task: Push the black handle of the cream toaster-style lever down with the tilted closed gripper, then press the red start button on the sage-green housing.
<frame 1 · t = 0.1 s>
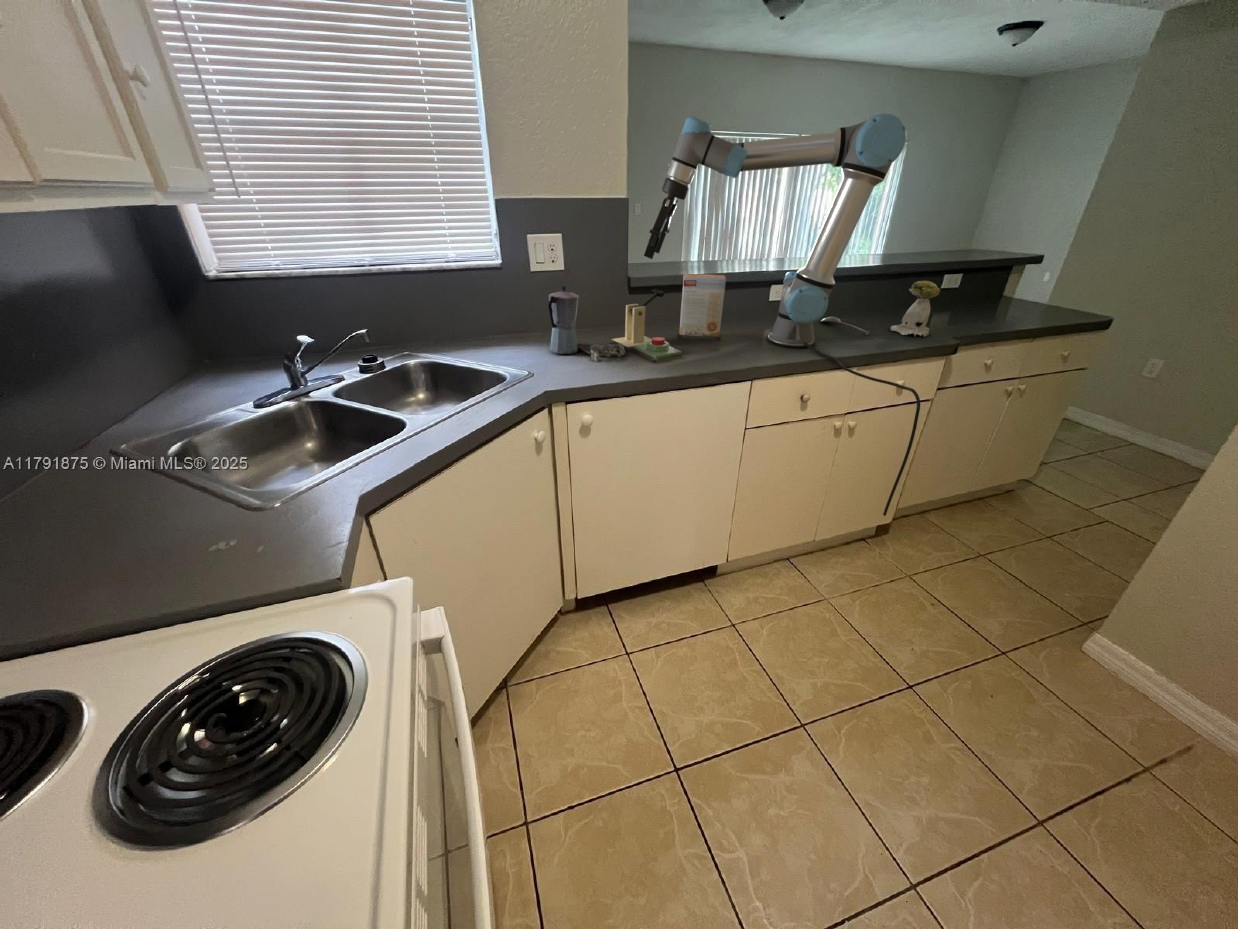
hand: (651, 254, 153), 28 cm above the worktop, tool tilted 20°, fingers open, 13 cm apart
grey and green figure: (908, 332, 184), on the worktop
moka pot: (564, 352, 156), on the worktop
start button: (658, 341, 152), point 4 cm above the worktop, slide at 0.1 cm
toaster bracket: (634, 344, 164), on the worktop
toaster lever: (645, 302, 159), point 13 cm above the worktop, hinge at 30.0°
cracker box: (698, 337, 173), on the worktop
button box: (657, 355, 155), on the worktop
mottled toad figurine: (607, 358, 152), on the worktop
soupspoon: (843, 328, 187), on the worktop
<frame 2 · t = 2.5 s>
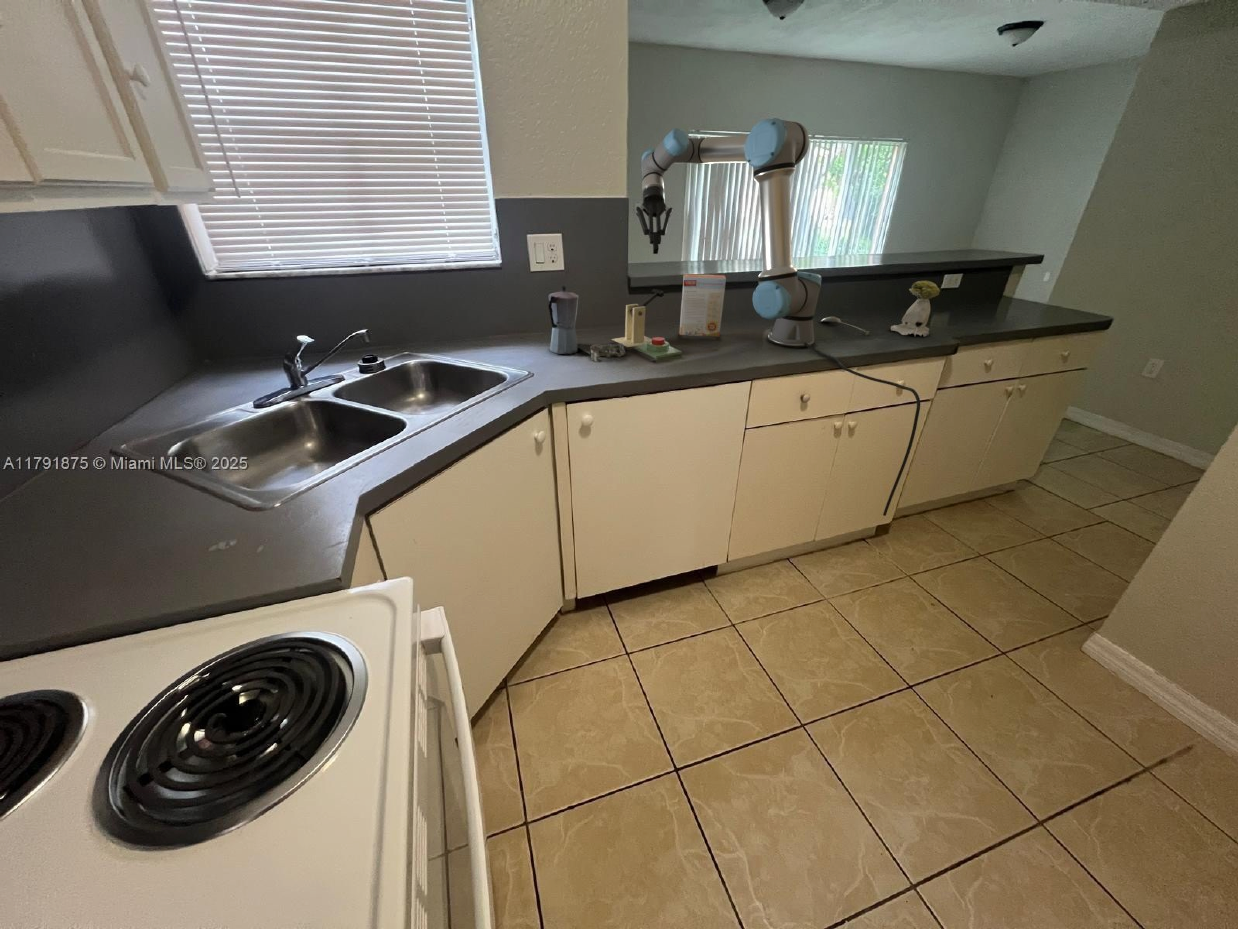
hand: (655, 251, 164), 27 cm above the worktop, tool tilted 45°, fingers closed
nothing on the worktop moved.
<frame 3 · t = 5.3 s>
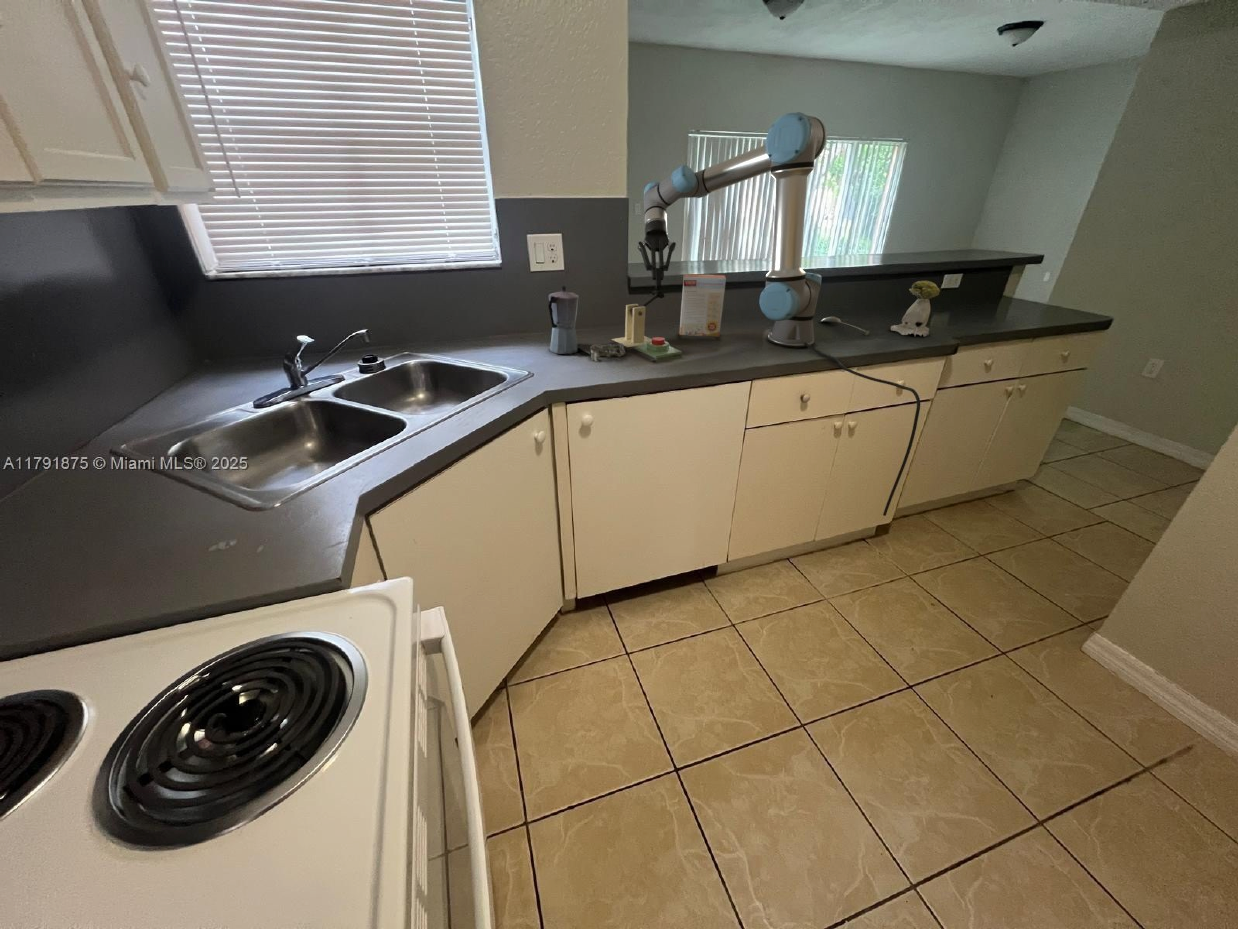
hand: (658, 287, 159), 18 cm above the worktop, tool tilted 45°, fingers closed
toaster lever: (646, 303, 159), point 13 cm above the worktop, hinge at 27.2°, touching gripper
everything else where it was.
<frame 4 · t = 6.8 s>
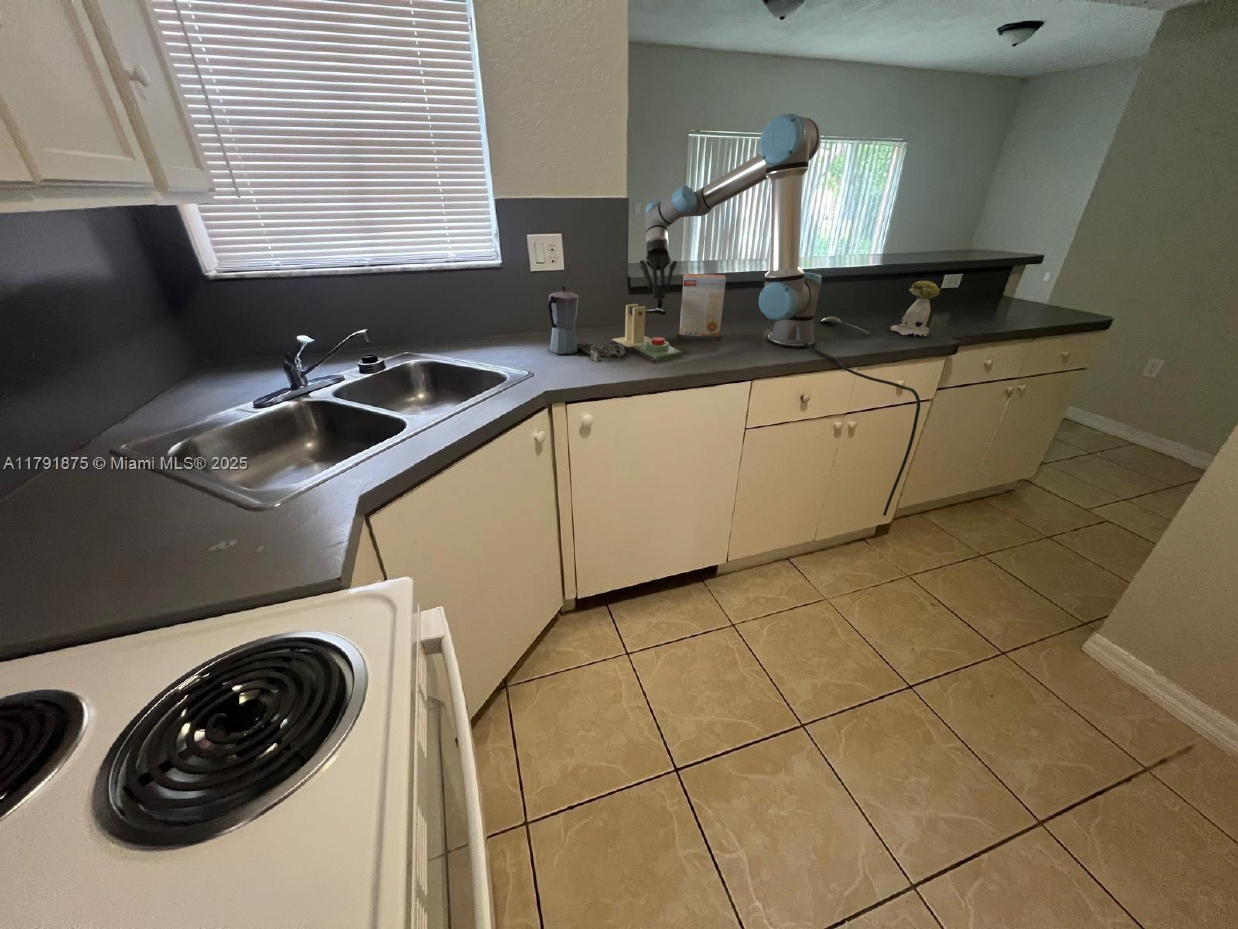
hand: (659, 305, 162), 12 cm above the worktop, tool tilted 45°, fingers closed
toaster lever: (646, 311, 161), point 10 cm above the worktop, hinge at -6.3°, touching gripper
everything else where it was.
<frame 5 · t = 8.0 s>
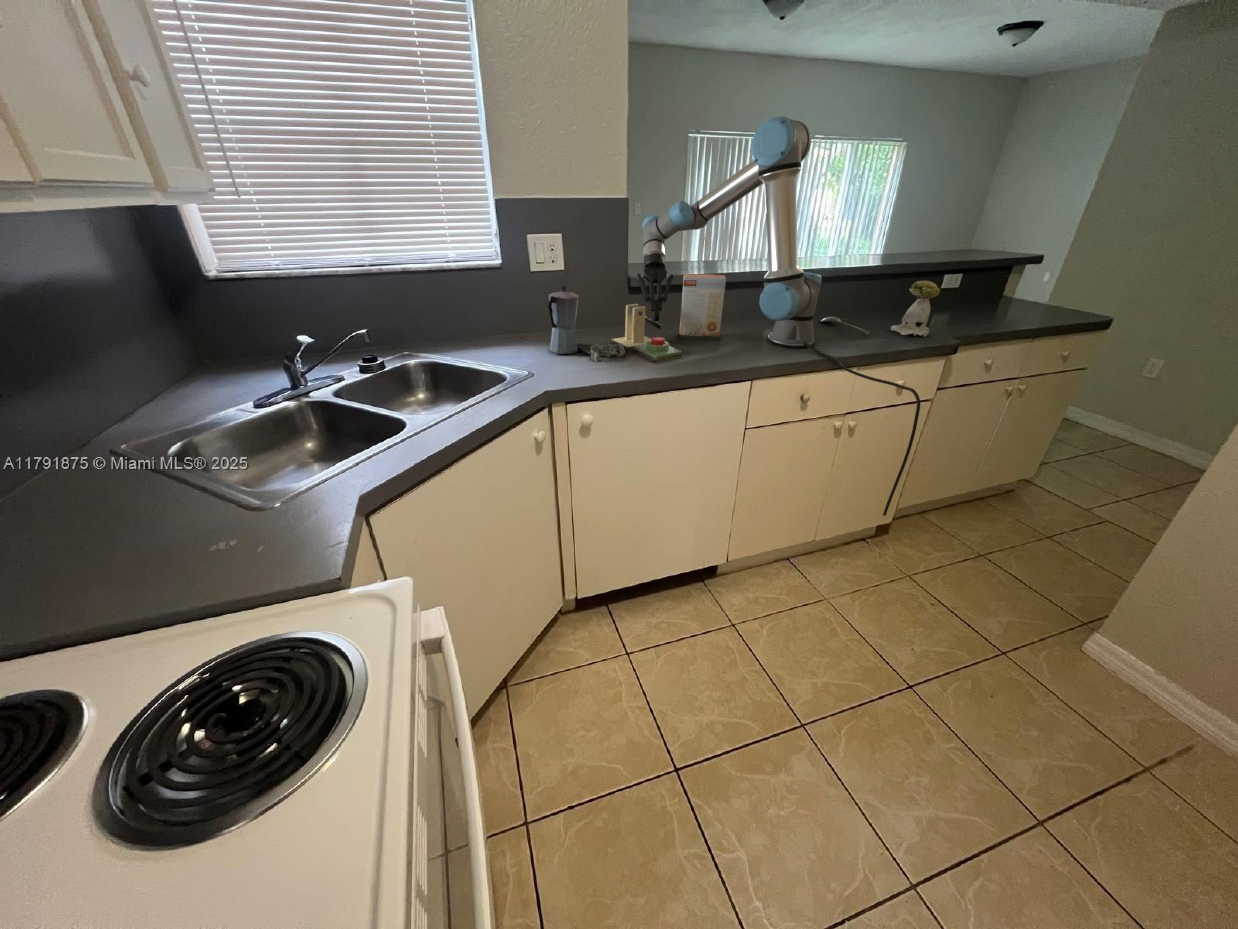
hand: (656, 319, 164), 8 cm above the worktop, tool tilted 45°, fingers closed
toaster lever: (644, 317, 161), point 8 cm above the worktop, hinge at -32.7°, touching gripper
everything else where it was.
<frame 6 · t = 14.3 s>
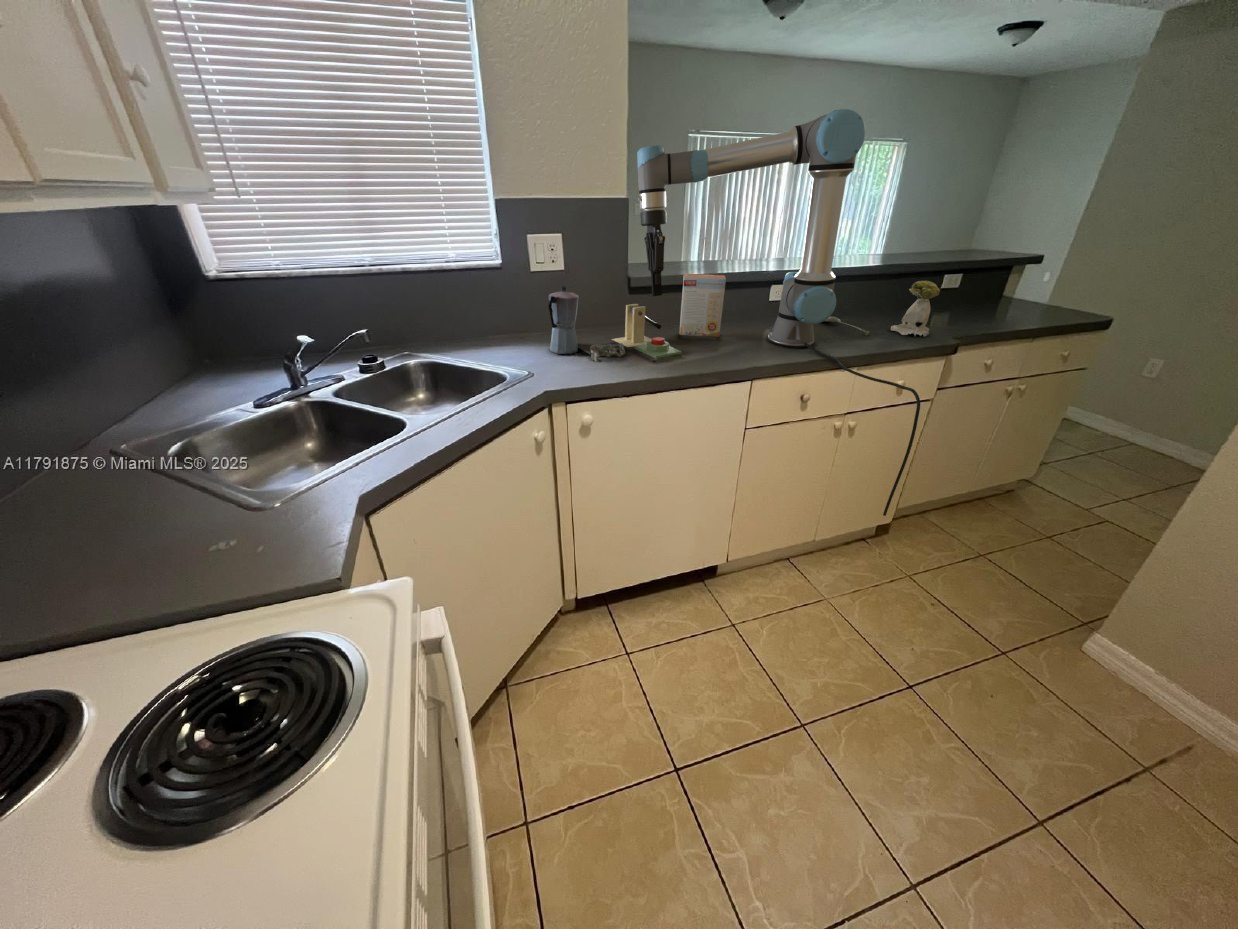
hand: (657, 295, 150), 17 cm above the worktop, tool pointing down, fingers closed
toaster lever: (644, 317, 161), point 8 cm above the worktop, hinge at -32.9°
everything else where it was.
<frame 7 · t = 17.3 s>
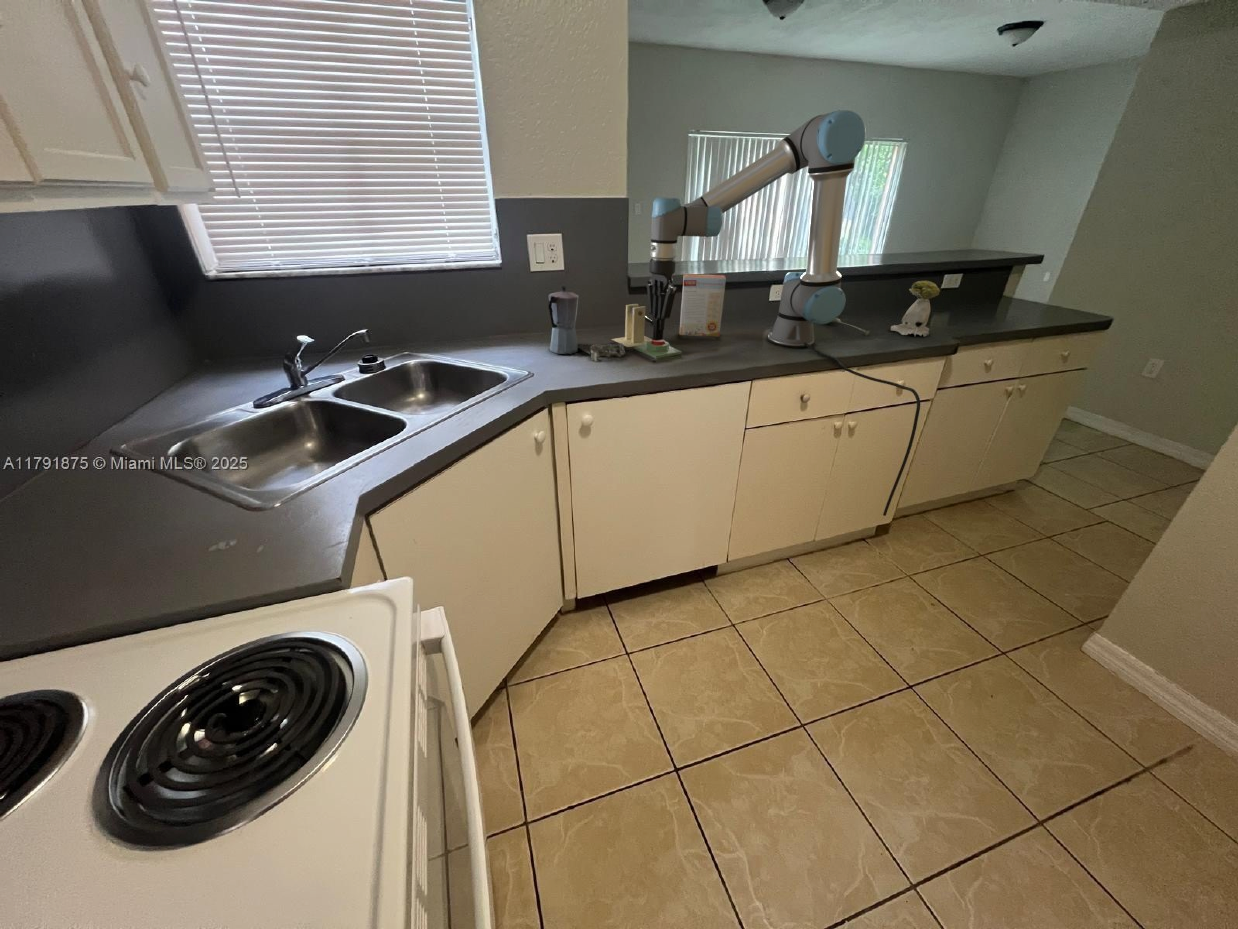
hand: (657, 339, 152), 5 cm above the worktop, tool pointing down, fingers closed
start button: (657, 343, 153), point 4 cm above the worktop, slide at -0.4 cm, touching gripper
everything else where it was.
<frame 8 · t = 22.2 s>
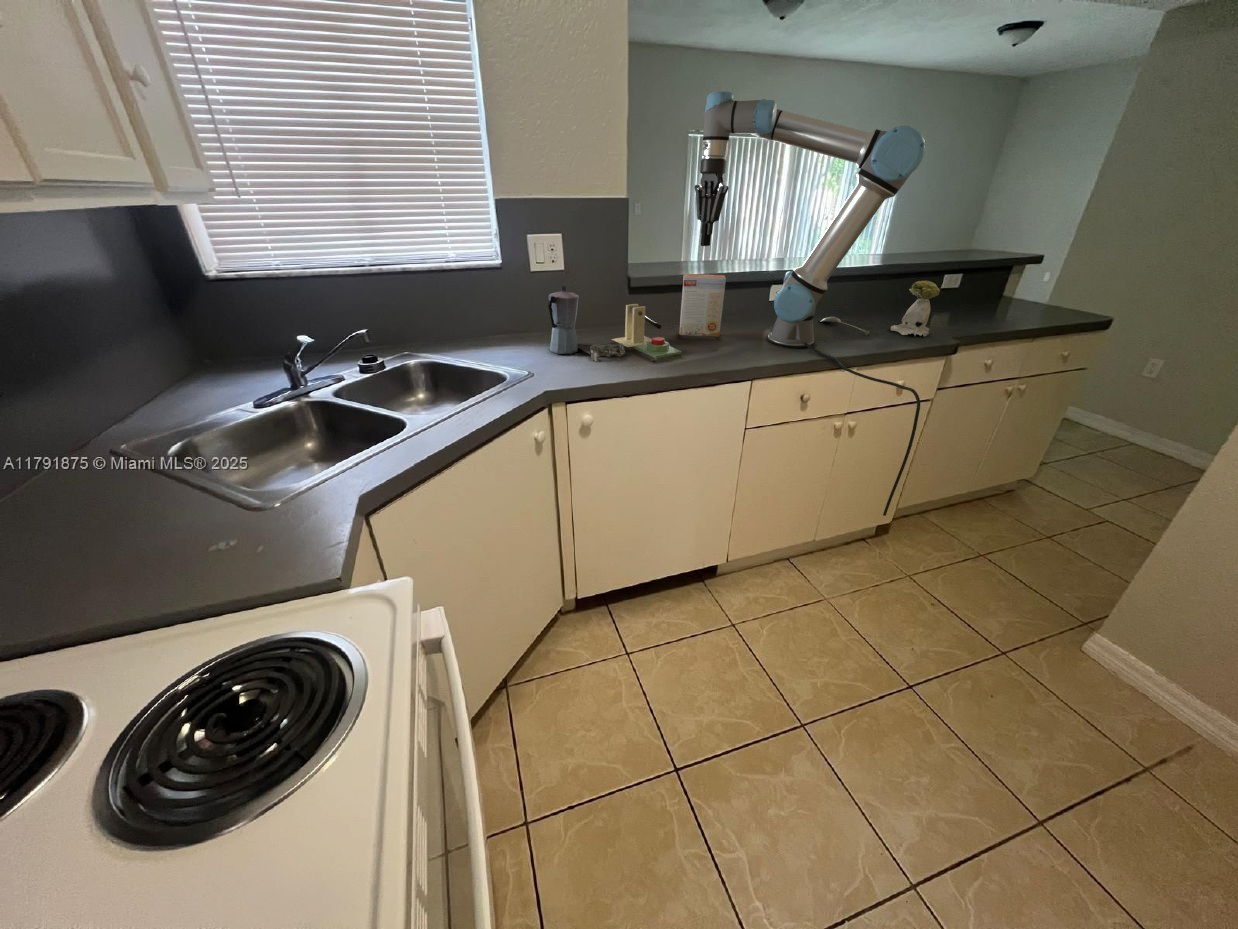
hand: (705, 245, 154), 30 cm above the worktop, tool pointing down, fingers closed
start button: (658, 341, 152), point 4 cm above the worktop, slide at 0.1 cm
everything else where it was.
at the end: toaster lever at -33° (first picture: +30°); start button pushed in 1.0 cm at the most during the clip, back to where it started at the end; start button slide at 0.1 cm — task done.
